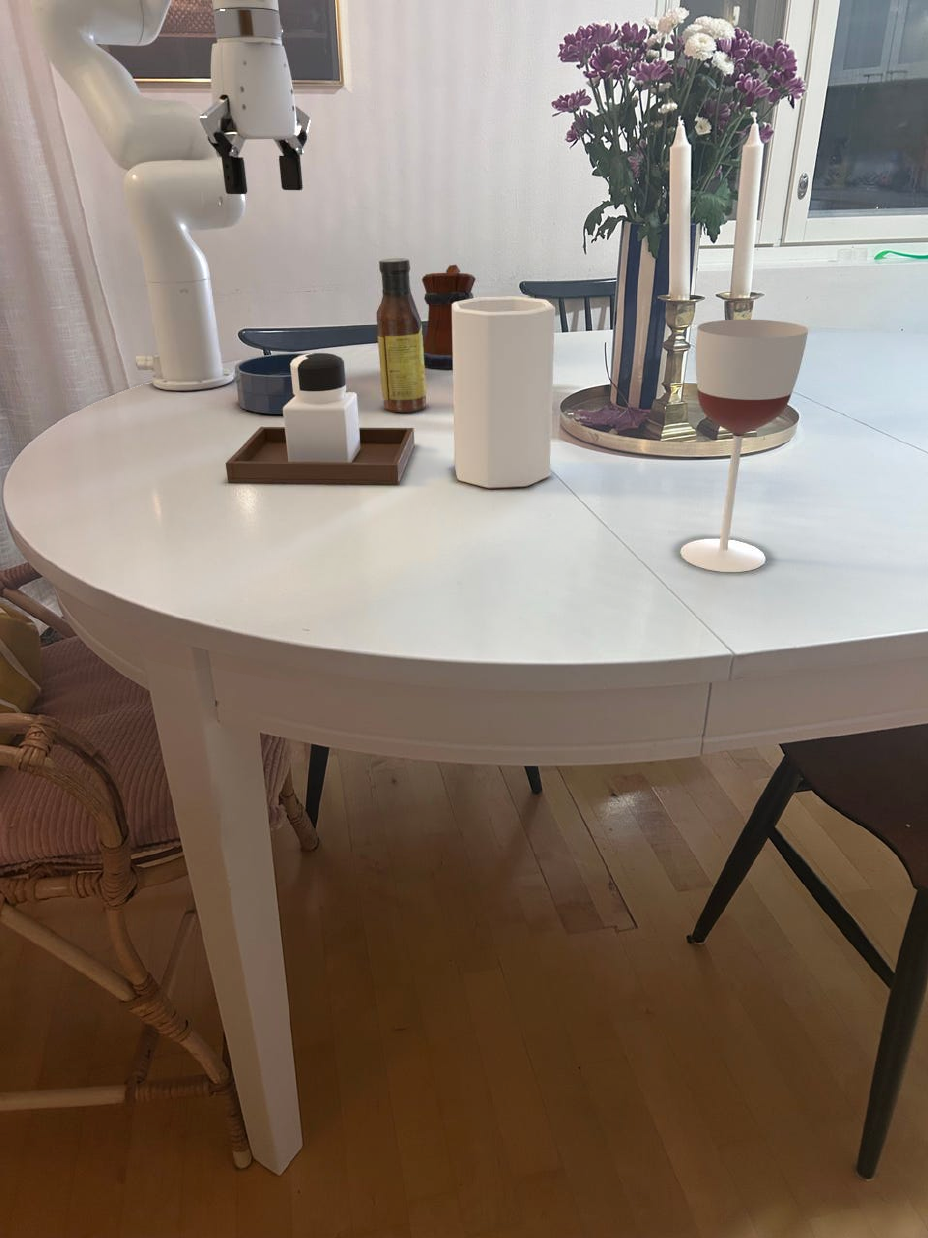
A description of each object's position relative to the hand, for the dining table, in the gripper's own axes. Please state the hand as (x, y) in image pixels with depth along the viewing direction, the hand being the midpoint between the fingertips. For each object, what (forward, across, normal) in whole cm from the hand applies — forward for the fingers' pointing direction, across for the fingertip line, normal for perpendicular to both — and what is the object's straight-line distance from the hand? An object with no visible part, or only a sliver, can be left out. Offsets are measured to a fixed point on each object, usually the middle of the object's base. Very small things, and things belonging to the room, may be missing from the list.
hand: (265, 191), depth 114 cm
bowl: (+28, -5, -4) cm, 29 cm away
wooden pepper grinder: (+28, -41, -1) cm, 50 cm away
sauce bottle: (+28, -11, +12) cm, 33 cm away
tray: (+28, +14, +20) cm, 37 cm away
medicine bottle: (+28, +14, +20) cm, 37 cm away
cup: (+28, +6, +39) cm, 49 cm away
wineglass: (+28, +15, +68) cm, 76 cm away
